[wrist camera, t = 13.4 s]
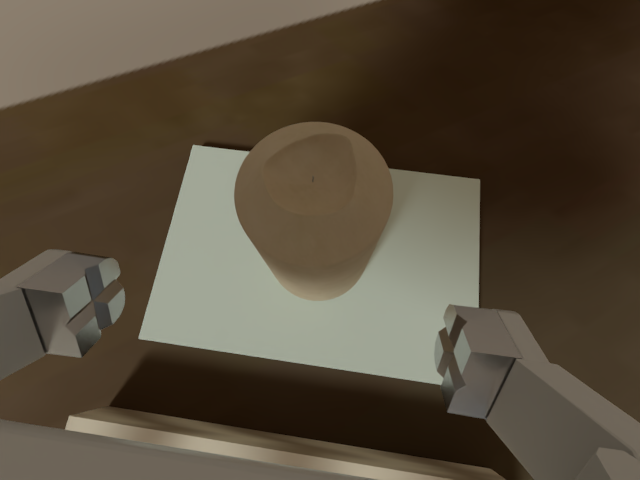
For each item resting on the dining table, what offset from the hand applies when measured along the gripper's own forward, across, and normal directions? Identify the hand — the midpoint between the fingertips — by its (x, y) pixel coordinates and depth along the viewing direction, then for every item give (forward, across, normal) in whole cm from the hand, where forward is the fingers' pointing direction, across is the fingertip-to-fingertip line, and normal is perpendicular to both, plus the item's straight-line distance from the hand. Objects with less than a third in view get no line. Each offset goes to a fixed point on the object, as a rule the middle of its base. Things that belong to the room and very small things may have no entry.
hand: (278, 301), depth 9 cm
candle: (+11, 0, +5) cm, 12 cm away
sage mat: (+11, 0, +5) cm, 12 cm away
